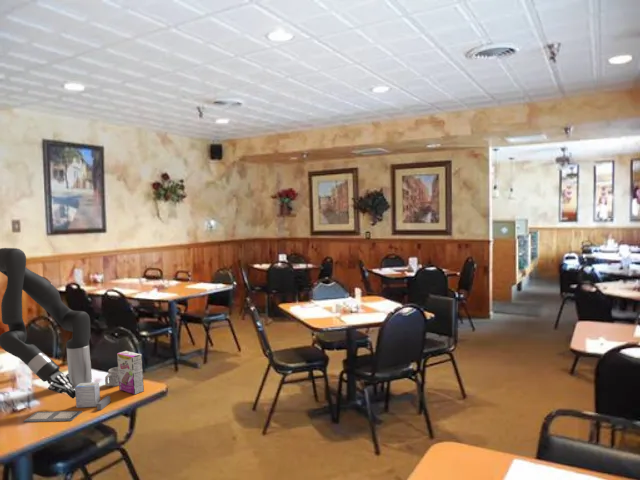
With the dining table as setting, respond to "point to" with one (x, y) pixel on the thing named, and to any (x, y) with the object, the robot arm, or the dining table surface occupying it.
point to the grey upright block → (87, 394)
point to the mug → (112, 377)
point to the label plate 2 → (65, 416)
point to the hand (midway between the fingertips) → (75, 396)
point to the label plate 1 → (40, 416)
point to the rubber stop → (103, 403)
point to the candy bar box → (130, 372)
